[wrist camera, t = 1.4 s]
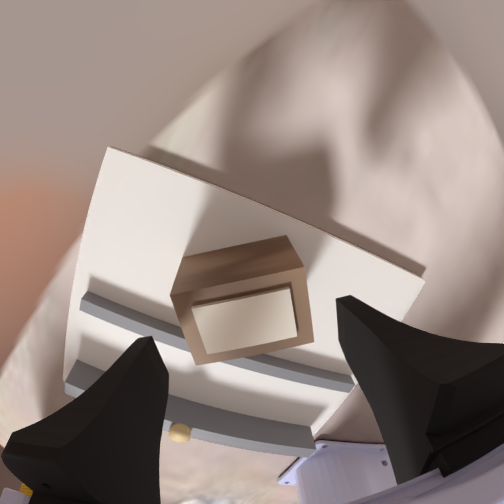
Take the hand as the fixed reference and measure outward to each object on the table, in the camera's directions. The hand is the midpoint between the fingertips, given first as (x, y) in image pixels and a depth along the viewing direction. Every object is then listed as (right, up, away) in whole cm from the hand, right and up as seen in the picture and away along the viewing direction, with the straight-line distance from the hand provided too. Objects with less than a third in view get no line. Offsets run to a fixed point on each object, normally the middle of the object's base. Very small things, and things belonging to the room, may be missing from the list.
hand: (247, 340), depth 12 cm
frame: (0, +2, +5) cm, 6 cm away
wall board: (-1, -2, +7) cm, 8 cm away
